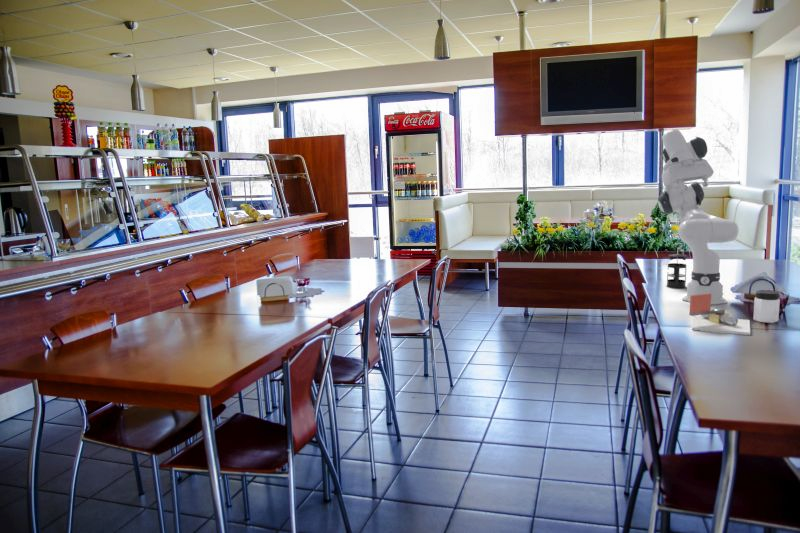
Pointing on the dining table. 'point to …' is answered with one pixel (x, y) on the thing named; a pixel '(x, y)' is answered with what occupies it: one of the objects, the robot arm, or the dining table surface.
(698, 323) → the mounting plate
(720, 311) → the lever
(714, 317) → the valve body
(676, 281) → the french press
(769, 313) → the jar
